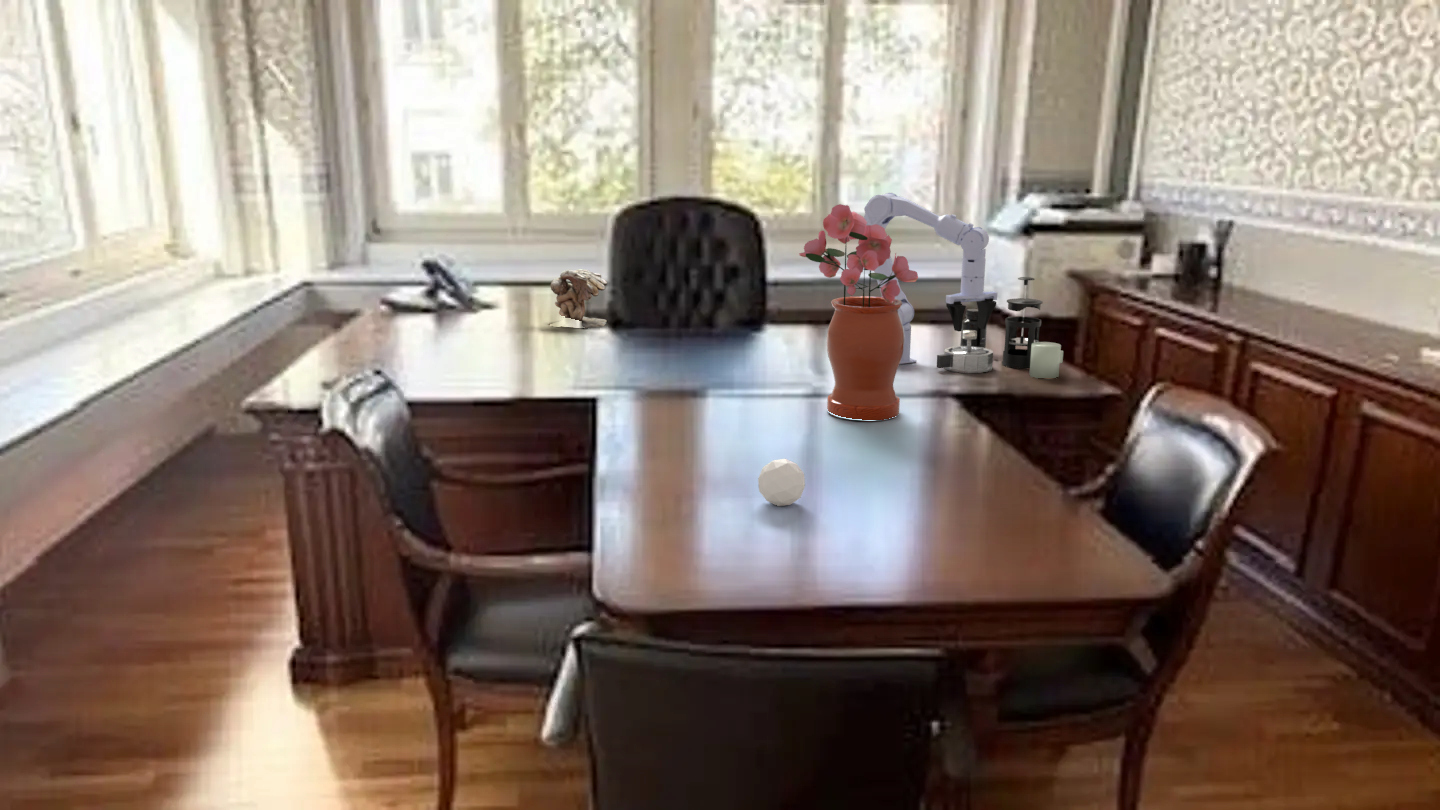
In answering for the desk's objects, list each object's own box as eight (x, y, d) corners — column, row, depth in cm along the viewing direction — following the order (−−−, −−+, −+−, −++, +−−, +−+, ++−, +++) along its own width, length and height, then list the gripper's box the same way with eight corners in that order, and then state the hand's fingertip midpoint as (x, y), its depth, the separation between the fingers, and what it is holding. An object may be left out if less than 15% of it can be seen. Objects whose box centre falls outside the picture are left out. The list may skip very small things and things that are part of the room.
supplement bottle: (987, 355, 287) (990, 312, 283) (962, 355, 287) (965, 312, 284) (982, 350, 293) (984, 307, 290) (957, 350, 293) (960, 307, 290)
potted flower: (794, 401, 240) (796, 201, 228) (903, 399, 241) (912, 200, 230) (805, 424, 222) (809, 207, 210) (923, 421, 223) (933, 206, 211)
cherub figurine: (569, 317, 347) (566, 263, 343) (618, 320, 341) (616, 265, 336) (541, 326, 331) (539, 269, 327) (592, 330, 325) (590, 272, 320)
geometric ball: (769, 516, 177) (753, 473, 179) (814, 499, 177) (796, 456, 179) (765, 509, 170) (748, 464, 172) (811, 491, 169) (793, 446, 172)
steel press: (952, 376, 263) (952, 358, 261) (924, 367, 273) (924, 349, 272) (1001, 370, 269) (1002, 353, 267) (972, 361, 279) (973, 344, 278)
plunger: (964, 358, 265) (966, 335, 263) (944, 352, 273) (945, 329, 271) (993, 355, 268) (994, 332, 267) (971, 349, 276) (973, 327, 275)
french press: (1047, 368, 271) (1054, 279, 266) (1014, 370, 269) (1020, 280, 263) (1023, 358, 282) (1029, 273, 276) (991, 360, 280) (997, 274, 274)
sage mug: (1042, 380, 259) (1044, 348, 257) (1023, 374, 265) (1025, 343, 263) (1069, 376, 262) (1072, 345, 260) (1050, 371, 268) (1052, 340, 266)
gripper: (959, 280, 259) (956, 334, 263) (1006, 276, 265) (1002, 329, 268) (941, 276, 265) (939, 329, 269) (988, 273, 271) (985, 325, 275)
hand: (969, 329), depth 269 cm, fingers open, 7 cm apart
